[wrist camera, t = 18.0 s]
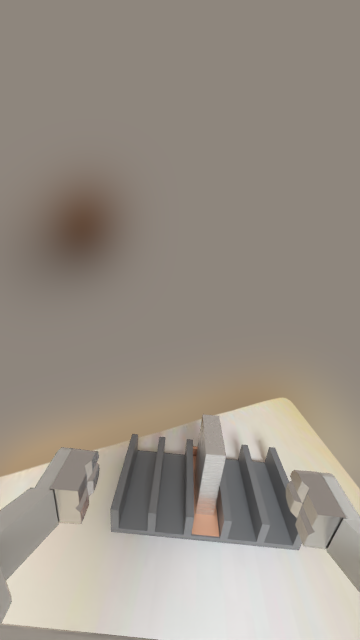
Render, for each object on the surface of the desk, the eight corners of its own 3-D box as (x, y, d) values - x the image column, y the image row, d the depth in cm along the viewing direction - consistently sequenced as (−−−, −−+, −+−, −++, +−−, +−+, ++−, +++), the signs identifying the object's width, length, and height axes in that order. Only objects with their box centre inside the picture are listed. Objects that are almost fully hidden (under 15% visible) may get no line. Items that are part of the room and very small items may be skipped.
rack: (111, 531, 36) (110, 509, 34) (132, 450, 50) (133, 431, 48) (298, 550, 36) (308, 528, 34) (268, 463, 49) (273, 445, 48)
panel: (195, 513, 38) (206, 454, 33) (194, 468, 46) (202, 414, 41) (213, 515, 38) (226, 455, 33) (209, 470, 46) (218, 416, 41)
